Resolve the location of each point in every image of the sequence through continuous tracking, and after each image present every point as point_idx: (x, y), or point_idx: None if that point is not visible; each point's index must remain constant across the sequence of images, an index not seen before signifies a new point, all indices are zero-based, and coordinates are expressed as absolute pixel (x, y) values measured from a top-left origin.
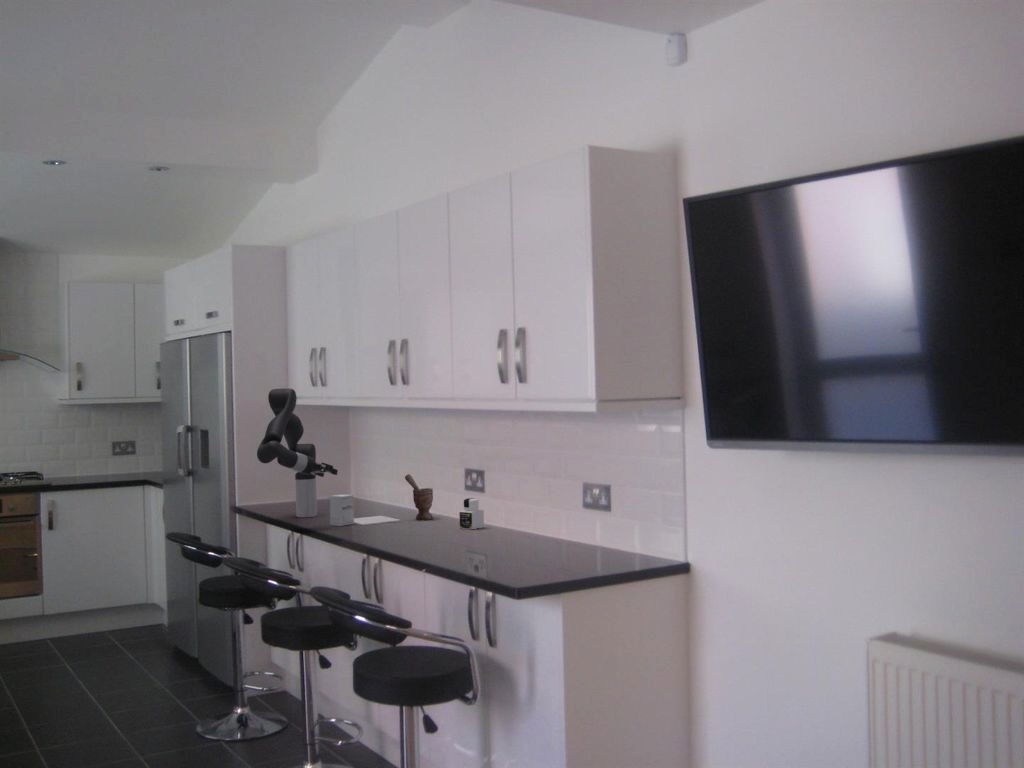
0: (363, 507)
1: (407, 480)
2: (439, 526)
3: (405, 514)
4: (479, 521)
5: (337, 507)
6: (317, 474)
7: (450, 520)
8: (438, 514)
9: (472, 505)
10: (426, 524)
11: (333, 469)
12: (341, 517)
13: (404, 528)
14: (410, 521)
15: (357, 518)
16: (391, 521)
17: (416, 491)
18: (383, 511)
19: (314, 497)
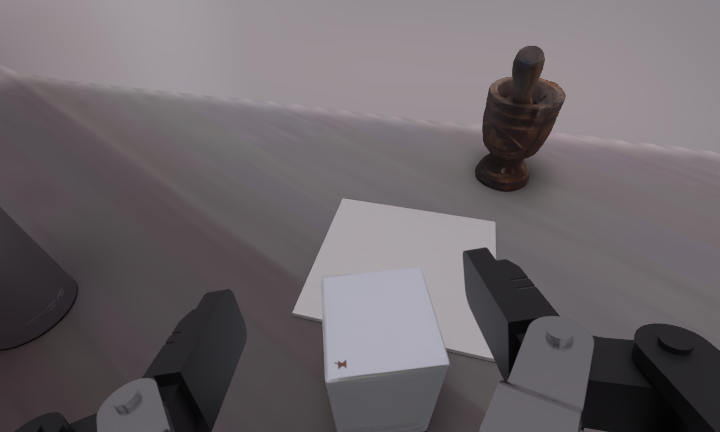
0: (148, 135)
1: (531, 77)
2: (715, 232)
3: (366, 153)
4: None
5: (405, 402)
6: (212, 421)
7: (583, 161)
8: (444, 127)
9: None
10: (632, 226)
11: (552, 314)
12: (429, 416)
13: (708, 319)
14: (518, 213)
15: (319, 266)
16: (495, 250)
17: (543, 111)
18: (259, 149)
19: (20, 244)
